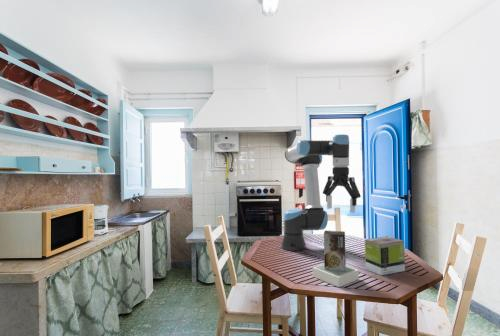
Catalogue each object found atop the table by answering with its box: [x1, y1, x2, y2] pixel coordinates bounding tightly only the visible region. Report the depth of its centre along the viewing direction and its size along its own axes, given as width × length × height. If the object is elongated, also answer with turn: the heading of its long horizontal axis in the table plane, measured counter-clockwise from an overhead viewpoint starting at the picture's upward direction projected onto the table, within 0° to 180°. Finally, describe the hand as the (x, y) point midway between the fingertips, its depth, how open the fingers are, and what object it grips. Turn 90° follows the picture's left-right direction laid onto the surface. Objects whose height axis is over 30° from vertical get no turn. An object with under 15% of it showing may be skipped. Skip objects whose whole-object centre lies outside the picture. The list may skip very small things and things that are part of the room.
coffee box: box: [323, 230, 347, 271], centre depth 123 cm, size 9×6×16 cm
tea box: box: [364, 236, 406, 276], centre depth 132 cm, size 15×10×15 cm
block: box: [312, 263, 360, 288], centre depth 123 cm, size 14×14×4 cm
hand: (340, 210), depth 133 cm, fingers open, 13 cm apart
